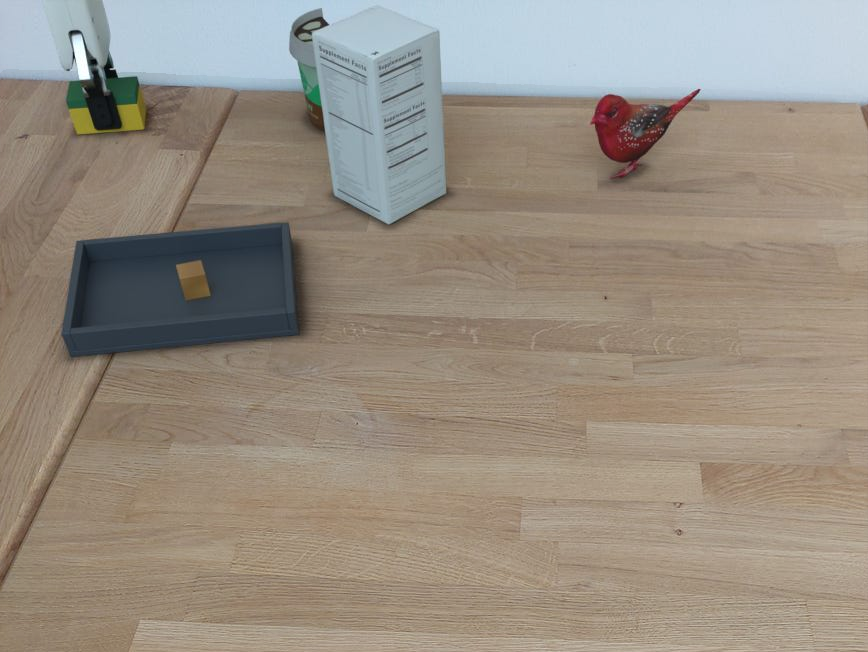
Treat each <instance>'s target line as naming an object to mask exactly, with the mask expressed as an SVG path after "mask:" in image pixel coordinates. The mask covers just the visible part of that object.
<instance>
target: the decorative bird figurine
mask: <svg viewBox="0 0 868 652" xmlns="http://www.w3.org/2000/svg"><path fill="white" fill-rule="evenodd" d="M700 91H701V88H698V89H696V90H694V91H692V92H691V93H689V94H687V95H686V96H684V97H683V98H681V99H679V100H677V101H676V102H675V103H673V104H672V105H669V106H666V105H663V104H656V103H641V104H631V103H629V102H628V101H627V100H626V99H625V98H624V97H622V96H621V95H618V94H612V93H609V94H605V95H604V96H603V97H601V98H600V100H599V101H598V103H597V104H596V107H595V110H594V115H593V117H592V118H591V121H590V123H589V126H591V125H594V130H595V132H596V136H597V141H598V145H599V147H600V150H601V151H602V153H603V154H604V156H606V158H608V159H609V160H611V161H612V162H613V161H614V162H617V163H620V164H625V163H626V164H627V163H628V165H627V166H626V167H625V168H624V169H621V170H619V172H618V173H617V174H615V175H613V176H611V177H609V180H613V179H615V178H623V177H626V176H627V175H628V174H630V173H631V172H633V171H635V170H638V167H639V166H643V164H642V162H638V161H639V160H640V159H641V158H642V157H643V156H645V155H647V153H648V152H649V151H650V150H651V149H652V148H653V147H654V146H655V144H657V142H659V141H660V140H661V139H662V138H663V136H664V135H665V134H666V132H667V131H668V128H669V127H670V125H671V124H672V122H673V120H674V119H675V117H676V116H677V115H678V114H679V113H680V112H681V111H682V110H683V109H684V108H685V107H686V106H687V105H689V103H690V102H691V101H693V99H694V98H695V97H697V95H699V94H700Z"/></svg>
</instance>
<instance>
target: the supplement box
mask: <svg viewBox="0 0 868 652" xmlns="http://www.w3.org/2000/svg"><path fill="white" fill-rule="evenodd" d="M440 34H441V33H440V30H439V29H438V28H436V27H433V26H431V25H429V24H425V23H423V22H422V21H418V20H416V19H413V18H410V17H408V16H405V15H403V14H401V13H398V12H396V11H393V10H391V9H388V8H385V7H383V6H380V5H379V4H378V5H374V6H371V7H368V8H366V9H363V10H361V11H359V12H356V13H355V14H352V15H350V16H348V17H345V18H343V19H340V20H338V21H336V22H333V23H331V24H329V25H328V26H326V27H324V28H321V29H319V30H317V31H315V32H313V33H312V40H313V47H314V54H315V61H316V68H317V76H318V83H319V90H320V97H321V104H322V111H323V118H324V126H325V132H324V133H325V141H326V149H327V155H328V162H329V163H328V164H329V168H330V169H329V170H330V176H331V185H332V191H333V195H334V197H336V198H338V199H340V200H342V201H344V202H345V203H348V204H349V205H351V206H352V207H354V208H356V209H359V210H360V211H363V212H364V213H365V214H368V215H370V216H372V217H374V218H375V219H377V220H379V221H380V222H383V223H385V224H386V225H392V224H393V223H394V222H397V221H398V220H400V219H402V218H403V217H405V216H407V215H409V214H411V213H412V212H415V211H416V210H418V209H420V208H422V207H424V206H425V205H428V204H429V203H431V202H433V201H434V200H437V199H438V198H440V197H442V196H444V195H446V194H447V178H446V177H447V176H446V173H447V172H446V154H445V153H446V151H445V132H444V129H445V128H444V107H443V85H442V64H441V63H442V60H441V37H440V36H441V35H440Z"/></svg>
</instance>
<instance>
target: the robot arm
mask: <svg viewBox="0 0 868 652" xmlns="http://www.w3.org/2000/svg"><path fill="white" fill-rule="evenodd" d="M42 5H43V8H44V10H45V14H46V18H47V22H48V25H49V28H50V29H49V30H50V32H51V35H52V39H53V42H54V45H55V50H56V52H57V55H58V59H59V63H60V66H61V68H62V69H63V70H64V71H65V72H70V71H71V70H72V69H73V67H74V64H75V67H76V70H77V74H78V79H79V80H80V82H81V86H82V89H83V93H84V97H85V100H86V103H87V106H88V110H89V113H90V116H91V119H92V122H93V125H94V128H95V129H96V130H98V131H99V130H112V129H120V128H121V127H122V122H121V119H120V116H119V112H118V109H117V106H116V102H115V99H114V95H113V92H109V88H108V84H107V80H106V78H119V76H118V72H117V69H115V65H114V60H113V57H112V55H111V52H110V44H111V30H110V29H111V28H110V25H109V20H108V16H107V13H106V8H105V5H104V2H103V0H42ZM99 79H100V80H99Z"/></svg>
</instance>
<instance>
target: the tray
mask: <svg viewBox="0 0 868 652" xmlns="http://www.w3.org/2000/svg"><path fill="white" fill-rule="evenodd" d="M291 233H292V232H291V228H290V223H289V221H286V222H284V221H283V222H274V223H273V222H272V223H261V224H259V223H258V224H248V225H237V226H229V227H228V226H225V227H217V228H215V227H214V228H204V229H203V228H202V229H194V230H192V229H191V230H183V231H181V230H180V231H169V232H159V233H148V234H135V235H125V236H123V235H122V236H114V237H102V238H91V239H90V238H89V239H80V240H76V241H75V247H74V253H73V260H72V266H71V272H70V279H69V283H68V284H69V285H68V289H67V290H68V291H67V296H66V297H67V298H66V303H65V308H64V315H63V321H62V329H61V332H60V333H61V334H60V335H61V338H62V339H63V342H64V344H65V346H66V349H67V351H68V354H69V356H70V357H71V358H74V357H75V358H76V357H84V356H95V355H105V354H114V353H115V354H116V353H124V352H134V351H135V352H136V351H146V350H147V351H148V350H155V349H157V350H158V349H165V348H177V347H188V346H196V345H197V346H198V345H207V344H216V343H227V342H237V341H247V340H257V339H258V340H259V339H267V338H269V339H270V338H277V337H288V336H297V335H298V336H299V335H300V327H299V315H298V314H299V313H298V300H297V299H298V298H297V286H296V274H295V272H296V271H295V261H294V260H295V259H294V246H293V245H294V244H293V238H292V234H291ZM199 260H201V261H202V265H203V268H204V271H205V275H206V279H207V282H208V286H209V290H210V294H211V296H208V297H203V298H198V299H193V300H188V301H186V299H185V296H184V293H183V289H182V286H181V282H180V279H179V275H178V271H177V267H176V265H178V264H183V263H188V262H193V261H199Z"/></svg>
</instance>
